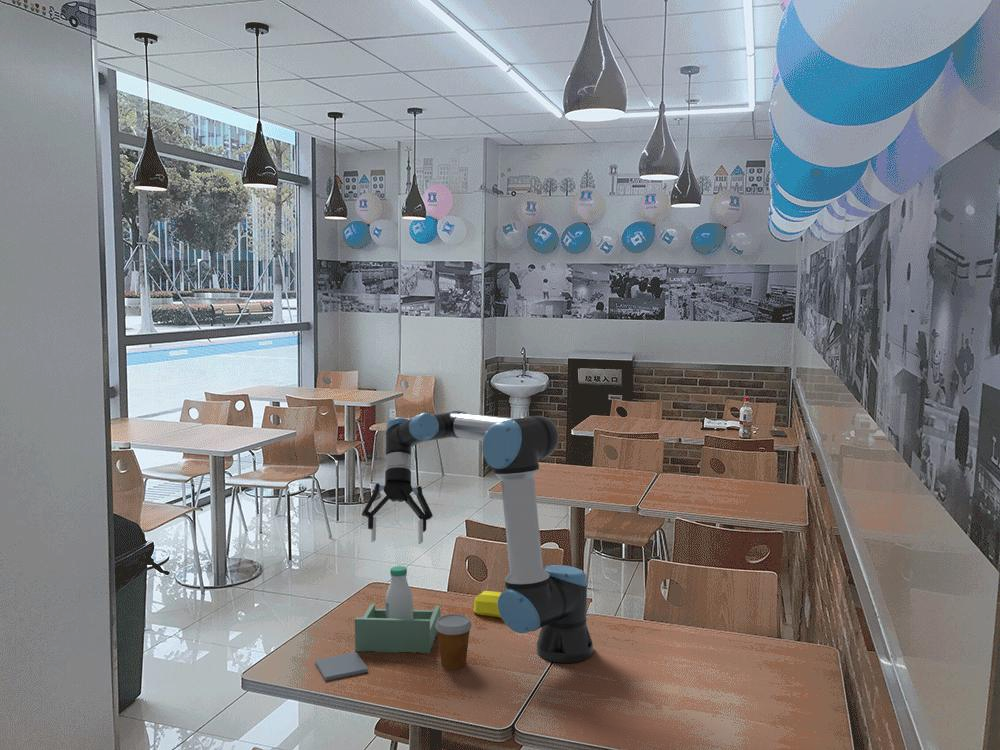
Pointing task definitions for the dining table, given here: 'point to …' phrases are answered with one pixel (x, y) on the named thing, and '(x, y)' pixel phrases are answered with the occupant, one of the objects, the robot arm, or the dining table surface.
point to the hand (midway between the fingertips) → (397, 541)
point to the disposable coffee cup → (453, 639)
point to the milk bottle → (399, 595)
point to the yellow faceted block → (487, 604)
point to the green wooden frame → (396, 631)
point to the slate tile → (341, 666)
